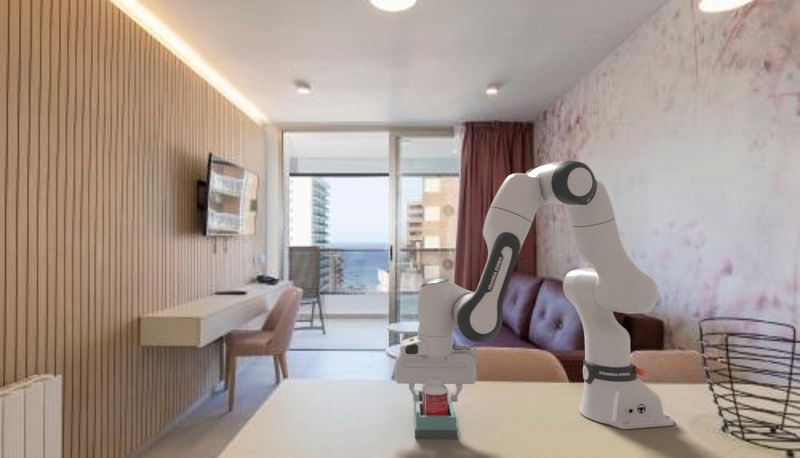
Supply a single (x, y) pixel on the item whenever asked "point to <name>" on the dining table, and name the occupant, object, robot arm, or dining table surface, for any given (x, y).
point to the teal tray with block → (434, 421)
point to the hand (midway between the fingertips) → (435, 400)
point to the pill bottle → (435, 398)
